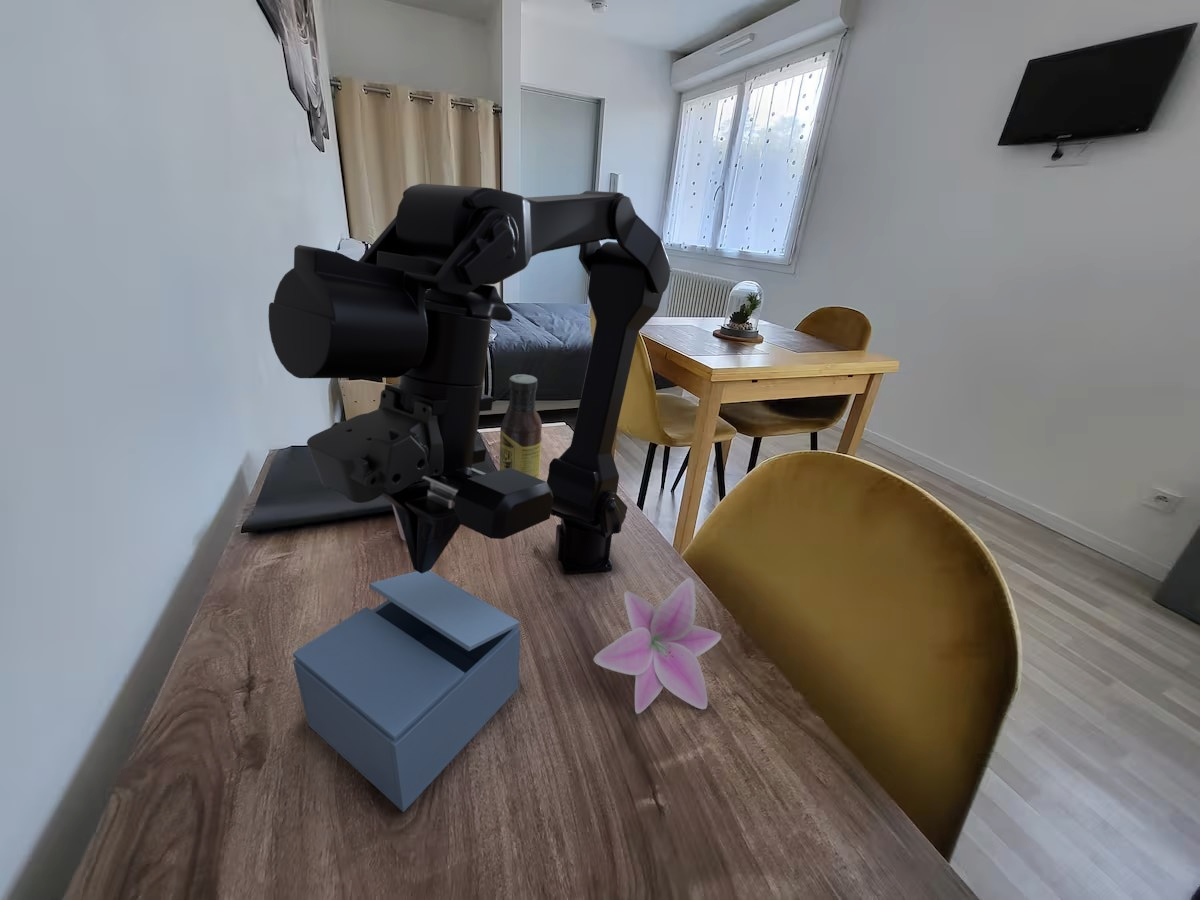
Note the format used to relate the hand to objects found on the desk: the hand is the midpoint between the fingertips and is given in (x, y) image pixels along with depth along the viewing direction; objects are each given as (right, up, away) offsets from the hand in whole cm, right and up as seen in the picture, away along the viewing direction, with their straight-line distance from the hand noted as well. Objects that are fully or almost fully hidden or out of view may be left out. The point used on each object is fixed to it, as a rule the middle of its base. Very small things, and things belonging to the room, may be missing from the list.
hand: (422, 570), depth 39 cm
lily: (+20, -13, +10) cm, 26 cm away
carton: (-2, -13, +5) cm, 14 cm away
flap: (0, -4, +4) cm, 6 cm away
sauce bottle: (+1, +2, +39) cm, 40 cm away
